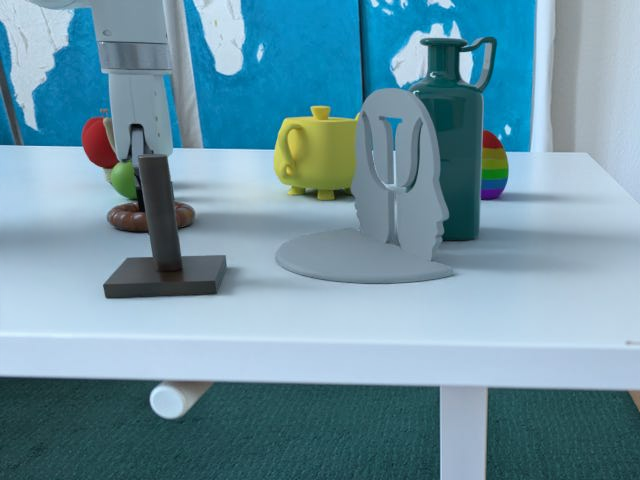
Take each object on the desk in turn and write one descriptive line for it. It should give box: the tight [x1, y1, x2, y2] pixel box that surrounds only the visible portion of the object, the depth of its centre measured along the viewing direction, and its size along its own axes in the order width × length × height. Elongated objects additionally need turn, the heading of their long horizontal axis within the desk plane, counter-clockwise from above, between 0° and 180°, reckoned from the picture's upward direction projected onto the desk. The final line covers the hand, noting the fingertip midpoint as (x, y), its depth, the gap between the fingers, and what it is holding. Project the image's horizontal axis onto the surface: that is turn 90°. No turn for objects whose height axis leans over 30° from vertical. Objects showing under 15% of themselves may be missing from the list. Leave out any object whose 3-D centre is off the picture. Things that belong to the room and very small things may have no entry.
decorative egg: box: [481, 129, 510, 200], centre depth 109 cm, size 8×8×10 cm
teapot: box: [273, 105, 360, 201], centre depth 108 cm, size 14×20×13 cm
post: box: [102, 154, 228, 299], centre depth 63 cm, size 9×9×11 cm
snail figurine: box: [99, 108, 137, 200], centre depth 98 cm, size 5×6×12 cm
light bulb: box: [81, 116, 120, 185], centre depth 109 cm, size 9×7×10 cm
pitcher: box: [405, 36, 498, 241], centre depth 82 cm, size 10×8×22 cm
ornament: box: [274, 87, 455, 284], centre depth 70 cm, size 22×13×17 cm, turn 37°
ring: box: [106, 201, 196, 233], centre depth 86 cm, size 10×10×2 cm
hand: (158, 215), depth 89 cm, fingers open, 4 cm apart
